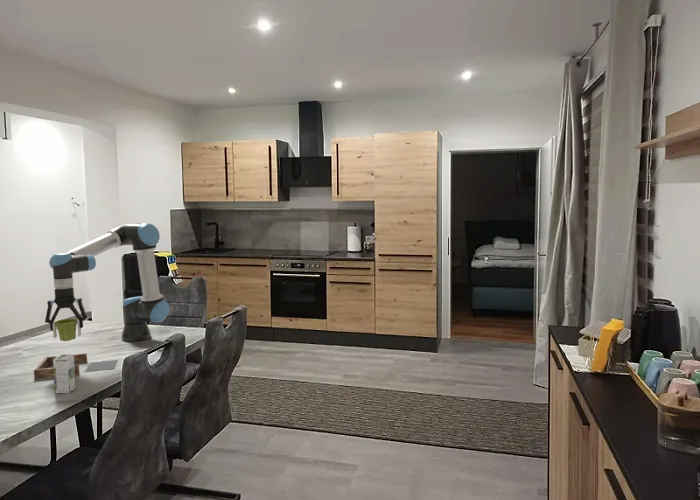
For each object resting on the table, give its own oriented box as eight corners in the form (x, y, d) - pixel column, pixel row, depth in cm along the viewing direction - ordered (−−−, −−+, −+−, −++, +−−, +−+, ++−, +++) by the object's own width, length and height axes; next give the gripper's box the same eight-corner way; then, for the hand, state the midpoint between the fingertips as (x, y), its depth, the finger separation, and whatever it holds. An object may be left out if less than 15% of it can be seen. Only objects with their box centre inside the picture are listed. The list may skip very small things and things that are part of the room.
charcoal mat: (117, 360, 251) (117, 359, 251) (113, 368, 238) (113, 368, 238) (90, 362, 248) (90, 362, 248) (84, 371, 234) (84, 371, 234)
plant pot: (55, 343, 231) (54, 324, 231) (56, 338, 240) (55, 320, 239) (79, 340, 236) (77, 321, 235) (79, 335, 244) (78, 317, 243)
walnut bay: (87, 361, 250) (86, 353, 250) (79, 374, 231) (78, 365, 231) (46, 365, 245) (45, 357, 245) (34, 379, 226) (33, 370, 225)
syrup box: (61, 389, 213) (58, 354, 212) (76, 388, 214) (73, 353, 212) (54, 394, 208) (52, 358, 206) (70, 393, 208) (67, 358, 207)
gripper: (33, 290, 229) (37, 340, 231) (89, 287, 235) (92, 335, 237) (38, 287, 236) (42, 336, 238) (92, 284, 242) (95, 332, 244)
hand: (67, 336), depth 238 cm, fingers closed on plant pot, 9 cm apart
